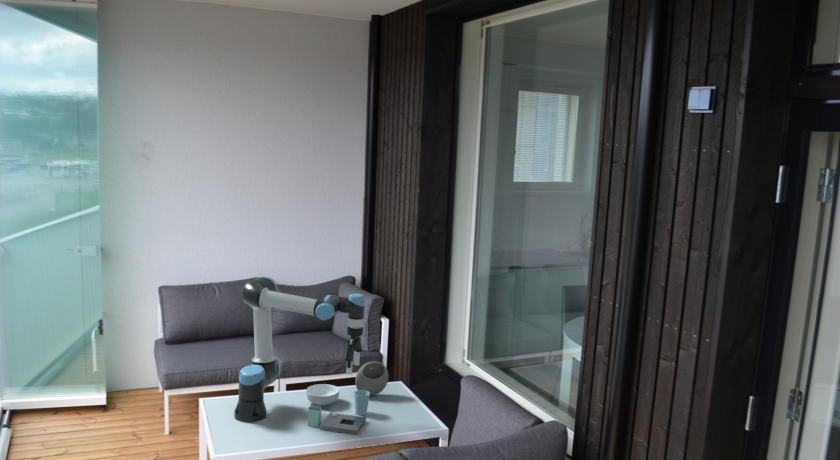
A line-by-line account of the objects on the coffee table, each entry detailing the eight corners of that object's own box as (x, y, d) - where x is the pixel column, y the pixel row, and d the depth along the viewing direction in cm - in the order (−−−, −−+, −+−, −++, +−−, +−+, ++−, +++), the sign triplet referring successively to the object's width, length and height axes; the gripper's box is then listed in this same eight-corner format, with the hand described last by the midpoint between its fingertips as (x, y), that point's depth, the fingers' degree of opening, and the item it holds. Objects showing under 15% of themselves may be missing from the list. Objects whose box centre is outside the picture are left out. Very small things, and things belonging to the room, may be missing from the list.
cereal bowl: (311, 395, 367) (312, 382, 366) (342, 398, 365) (343, 385, 364) (301, 407, 350) (302, 393, 349) (333, 411, 348) (334, 397, 347)
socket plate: (319, 429, 326) (319, 423, 325) (330, 416, 341) (330, 410, 341) (357, 434, 323) (357, 429, 322) (365, 421, 338) (366, 415, 338)
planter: (356, 400, 364) (358, 365, 362) (352, 395, 371) (354, 360, 368) (389, 396, 372) (391, 362, 370) (384, 391, 379) (386, 358, 376)
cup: (370, 415, 346) (372, 395, 345) (356, 416, 343) (357, 396, 342) (365, 409, 353) (366, 389, 352) (351, 411, 350) (352, 391, 348)
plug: (307, 425, 329) (308, 407, 328) (310, 422, 333) (311, 404, 332) (317, 427, 328) (318, 409, 327) (320, 424, 332) (321, 405, 331)
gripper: (356, 334, 320) (353, 379, 323) (369, 320, 344) (366, 362, 347) (340, 332, 321) (337, 376, 324) (354, 319, 345) (351, 360, 348)
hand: (352, 369), depth 335 cm, fingers open, 13 cm apart
